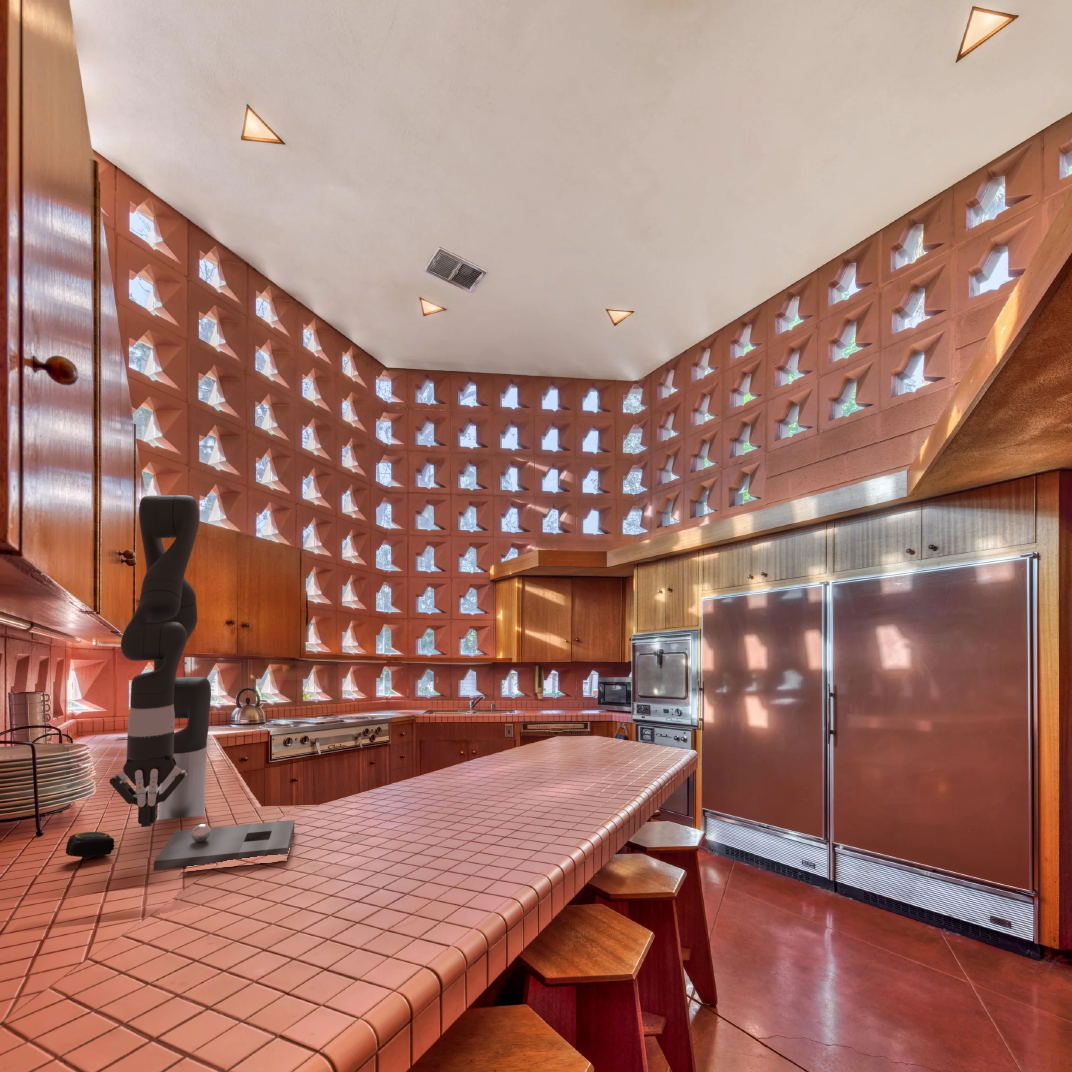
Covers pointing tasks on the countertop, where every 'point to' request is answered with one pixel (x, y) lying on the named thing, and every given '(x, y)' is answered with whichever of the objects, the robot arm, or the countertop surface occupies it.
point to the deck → (226, 844)
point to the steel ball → (201, 833)
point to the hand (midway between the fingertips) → (147, 825)
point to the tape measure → (89, 844)
